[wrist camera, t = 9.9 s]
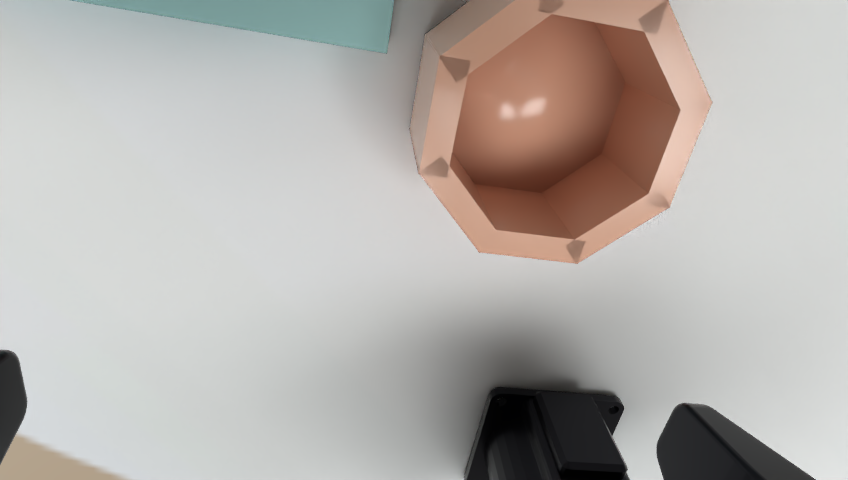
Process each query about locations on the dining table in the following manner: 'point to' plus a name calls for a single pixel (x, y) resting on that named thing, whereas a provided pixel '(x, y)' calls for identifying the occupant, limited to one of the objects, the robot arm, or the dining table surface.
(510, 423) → the robot arm
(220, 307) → the dining table surface
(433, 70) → the pink octagonal bowl
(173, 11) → the board
